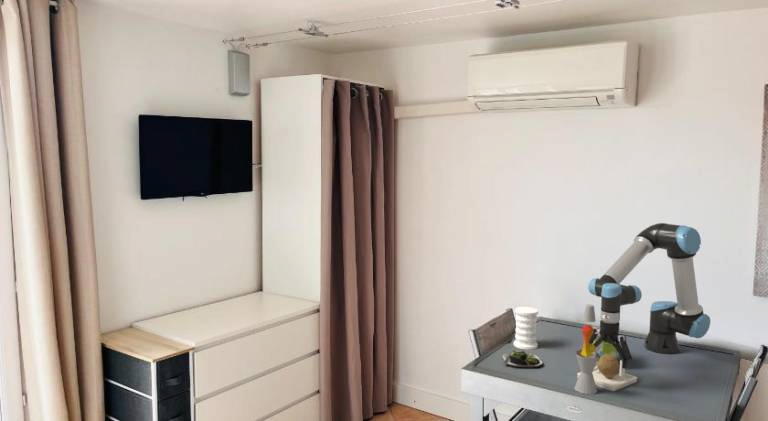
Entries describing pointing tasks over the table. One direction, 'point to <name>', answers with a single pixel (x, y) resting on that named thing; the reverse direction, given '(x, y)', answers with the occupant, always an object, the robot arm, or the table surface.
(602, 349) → the tea box
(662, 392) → the table surface
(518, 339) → the decorative container
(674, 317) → the robot arm
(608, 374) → the natural sponge
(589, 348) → the lava lamp
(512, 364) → the salad plate
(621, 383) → the tray
